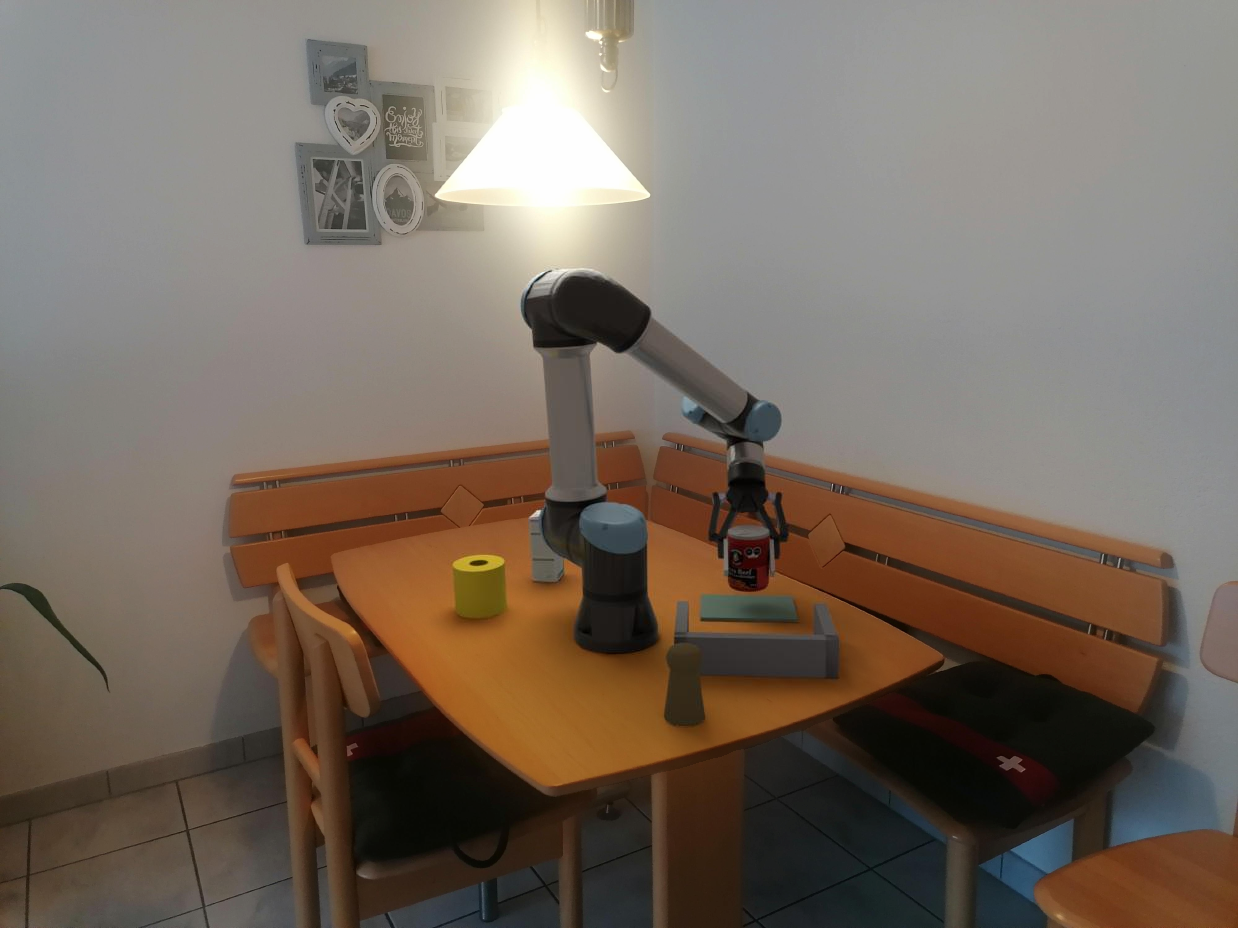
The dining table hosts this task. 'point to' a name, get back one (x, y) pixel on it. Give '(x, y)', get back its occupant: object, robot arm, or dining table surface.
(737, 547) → the canned food
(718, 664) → the open box
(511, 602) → the dining table surface
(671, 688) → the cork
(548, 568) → the syrup box
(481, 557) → the tape roll
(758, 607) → the green mat
